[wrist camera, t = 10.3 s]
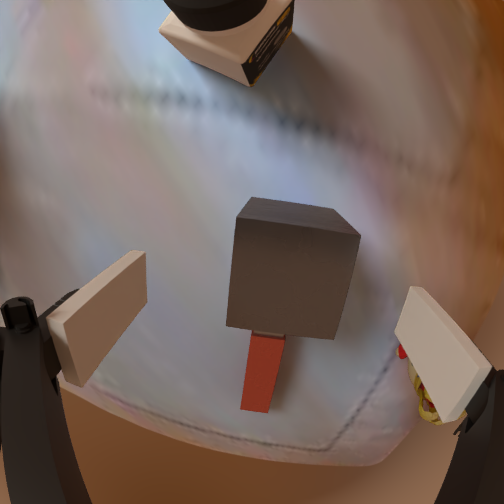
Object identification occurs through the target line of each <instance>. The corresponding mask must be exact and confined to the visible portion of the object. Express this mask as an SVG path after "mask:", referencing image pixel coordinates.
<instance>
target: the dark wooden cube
mask: <svg viewBox="0 0 504 504" xmlns="http://www.w3.org/2000/svg"><path fill="white" fill-rule="evenodd" d="M360 238H361V235H360V234H359V233H358V232H357V231H356V230H355V229H354V228H353V227H352V226H351V225H350V224H349V223H348V222H347V221H346V220H345V219H344V218H343V217H342V216H341V215H340V214H338V213H337V212H336V211H335V210H334V209H331V208H325V207H319V206H312V205H306V204H299V203H293V202H286V201H279V200H271V199H264V198H256V197H251V198H250V200H249V201H248V202H247V204H246V205H245V206H244V208H243V209H242V210H241V212H240V213H239V214H238V216H237V217H236V226H235V235H234V245H233V255H232V265H231V276H230V286H229V297H228V308H227V319H226V326H228V327H234V328H241V329H248V330H254V331H261V332H269V333H276V334H284V335H293V336H301V337H311V338H320V339H331V340H334V337H335V334H336V331H337V328H338V324H339V321H340V317H341V314H342V311H343V307H344V303H345V300H346V296H347V292H348V289H349V285H350V281H351V277H352V273H353V269H354V265H355V261H356V256H357V252H358V248H359V243H360Z"/></svg>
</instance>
